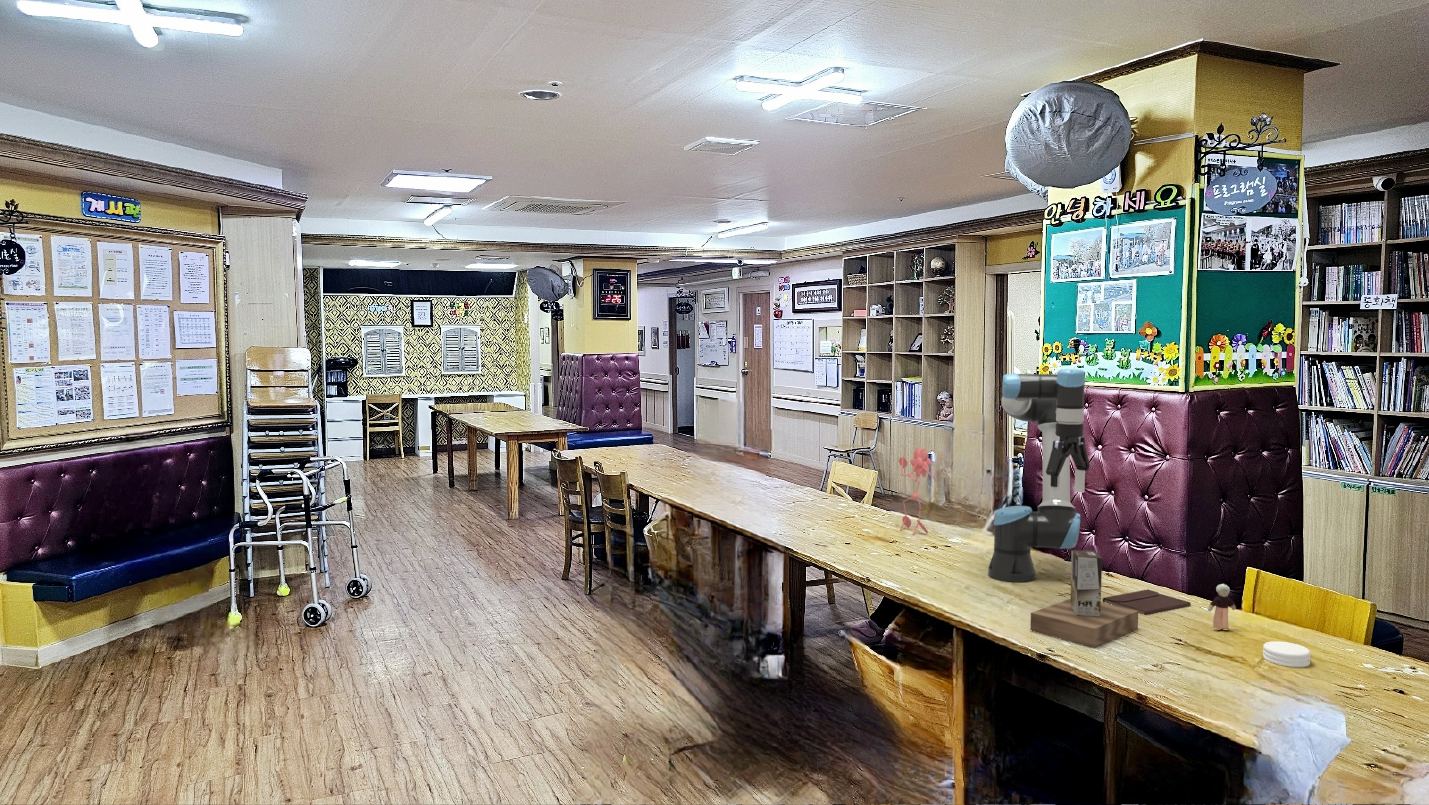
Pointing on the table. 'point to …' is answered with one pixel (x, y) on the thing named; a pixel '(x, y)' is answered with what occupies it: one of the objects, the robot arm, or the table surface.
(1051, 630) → the walnut step
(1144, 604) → the notebook
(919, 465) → the figurine
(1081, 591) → the coffee box
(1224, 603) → the grandmother figurine
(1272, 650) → the white round tin
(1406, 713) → the table surface
